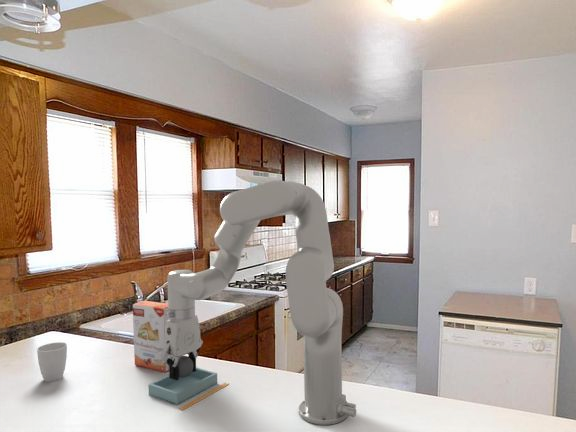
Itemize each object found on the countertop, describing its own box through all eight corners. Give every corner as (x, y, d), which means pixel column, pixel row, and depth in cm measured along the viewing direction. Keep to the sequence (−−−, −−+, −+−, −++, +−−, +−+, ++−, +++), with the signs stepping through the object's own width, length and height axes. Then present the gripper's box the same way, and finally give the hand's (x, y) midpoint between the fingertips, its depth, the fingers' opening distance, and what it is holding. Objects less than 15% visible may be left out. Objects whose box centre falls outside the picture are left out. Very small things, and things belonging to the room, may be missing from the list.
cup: (73, 373, 134) (72, 342, 134) (57, 384, 126) (55, 351, 126) (49, 372, 135) (48, 342, 134) (32, 383, 127) (30, 351, 126)
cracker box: (133, 366, 139) (131, 303, 138) (147, 359, 144) (145, 299, 144) (164, 373, 133) (162, 308, 132) (178, 366, 138) (176, 303, 137)
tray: (228, 384, 124) (228, 374, 123) (182, 410, 109) (182, 399, 108) (192, 373, 132) (192, 364, 132) (145, 396, 117) (144, 385, 117)
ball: (198, 375, 122) (197, 355, 122) (182, 383, 117) (181, 361, 117) (183, 371, 125) (183, 351, 125) (167, 378, 120) (167, 357, 120)
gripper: (166, 322, 111) (168, 389, 112) (212, 308, 126) (213, 367, 126) (148, 318, 115) (150, 382, 116) (194, 305, 130) (195, 362, 130)
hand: (183, 374), depth 121 cm, fingers closed on ball, 5 cm apart
